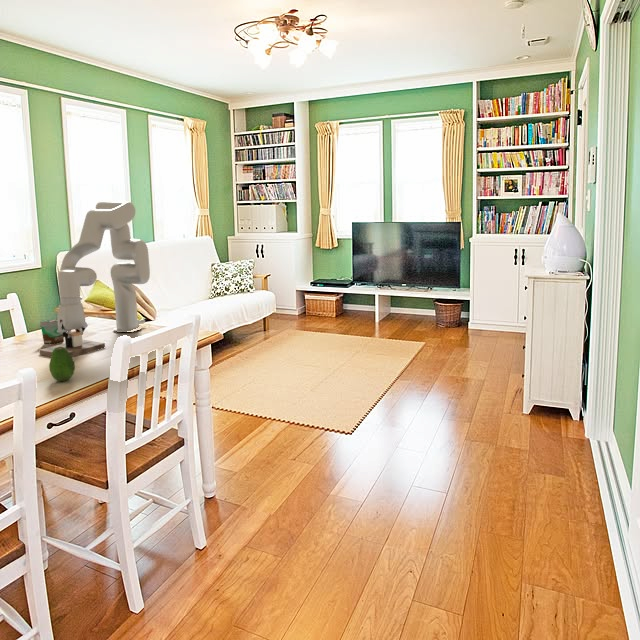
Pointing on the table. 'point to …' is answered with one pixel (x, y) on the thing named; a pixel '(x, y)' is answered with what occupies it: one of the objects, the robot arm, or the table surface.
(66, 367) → the avocado
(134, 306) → the robot arm
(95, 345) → the panel
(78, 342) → the beige small block
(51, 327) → the food container
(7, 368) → the table surface
